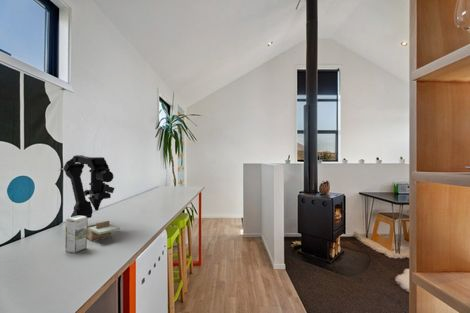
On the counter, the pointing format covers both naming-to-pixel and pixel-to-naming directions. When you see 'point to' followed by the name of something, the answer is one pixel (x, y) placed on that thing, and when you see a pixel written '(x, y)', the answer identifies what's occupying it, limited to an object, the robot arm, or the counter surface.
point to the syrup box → (76, 234)
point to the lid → (103, 228)
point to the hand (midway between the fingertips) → (96, 210)
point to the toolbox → (94, 236)
